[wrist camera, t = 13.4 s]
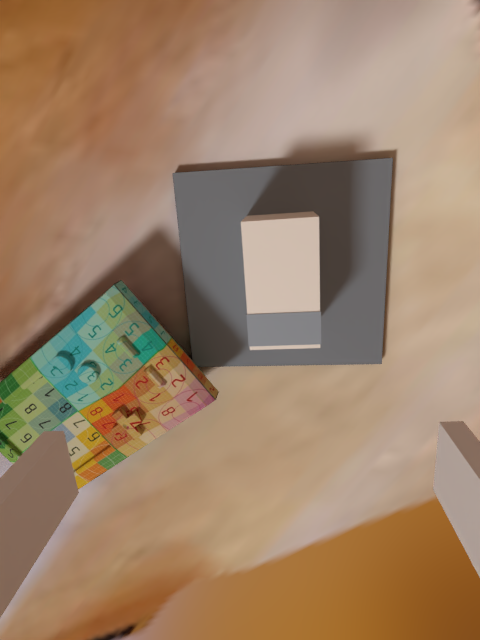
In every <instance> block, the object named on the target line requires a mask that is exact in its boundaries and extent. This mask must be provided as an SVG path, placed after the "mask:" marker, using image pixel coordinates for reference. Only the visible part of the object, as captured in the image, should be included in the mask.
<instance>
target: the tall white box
mask: <svg viewBox="0 0 480 640" xmlns="http://www.w3.org/2000/svg"><path fill="white" fill-rule="evenodd" d="M241 233H242V247H243V261H244V276H245V290H246V304H247V314H246V316H247V330H248V344H249V347H250V350H271V349H304V348H320V344H321V311H320V256H319V216H318V215H317V214H316V213H314V212H313V211H310V212H295V213H280V214H266V215H251V216H246V217H245V218H244V219H243V220H242V221H241Z"/></svg>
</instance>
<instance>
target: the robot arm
mask: <svg viewBox="0 0 480 640" xmlns="http://www.w3.org/2000/svg"><path fill="white" fill-rule="evenodd" d="M433 490H434V492H435V494H436V496H437V498H438V500H439V501H440V503H441V505H442V507H443V509H444V511H445V513H446V515H447V516H448V519H449V520H450V522H451V524H452V526H453V528H454V530H455V532H456V533H457V536H458V537H459V539H460V541H461V543H462V545H463V547H464V549H465V551H466V553H467V554H468V556H469V558H470V560H471V562H472V564H473V566H474V568H475V569H476V571H477V573H478V575H479V577H480V441H479V440H478V439H477V438H476V437H475V435H474V434H473V433H472V432H471V430H470V429H469V428H468V427H467V425H466V424H465V423H464V422H463V421H457V422H439V430H438V441H437V453H436V464H435V475H434V487H433ZM78 493H79V492H78V487H77V483H76V479H75V475H74V471H73V467H72V463H71V459H70V455H69V451H68V446H67V442H66V438H65V434H64V431H44V432H43V433H42V434H41V435H40V436H39V437H38V438H37V439H36V440H35V441H34V442H33V443H32V445H31V446H30V447H29V448H28V449H27V450H26V451H25V452H24V453H23V454H22V455H21V456H20V457H19V459H18V460H17V461H16V462H15V463H14V464H13V465H12V466H11V467H10V468H9V469H8V470H7V472H6V473H5V474H4V475H3V476H2V477H1V478H0V617H1V616H2V614H3V613H4V611H5V609H6V608H7V606H8V605H9V603H10V601H11V600H12V598H13V597H14V595H15V594H16V592H17V590H18V589H19V587H20V586H21V584H22V582H23V581H24V579H25V578H26V576H27V574H28V573H29V571H30V570H31V568H32V566H33V565H34V563H35V562H36V560H37V558H38V557H39V555H40V554H41V552H42V550H43V549H44V547H45V546H46V544H47V543H48V541H49V539H50V538H51V536H52V535H53V533H54V531H55V530H56V528H57V527H58V525H59V523H60V522H61V520H62V519H63V517H64V515H65V514H66V512H67V511H68V509H69V507H70V506H71V504H72V503H73V501H74V499H75V498H76V496H77V495H78Z"/></svg>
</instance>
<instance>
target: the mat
mask: <svg viewBox="0 0 480 640" xmlns="http://www.w3.org/2000/svg"><path fill="white" fill-rule="evenodd" d="M392 163H393V158H384V159H370V160H355V161H341V162H326V163H312V164H297V165H283V166H268V167H254V168H239V169H225V170H210V171H195V172H181V173H173V182H174V192H175V201H176V210H177V220H178V229H179V238H180V248H181V257H182V266H183V276H184V285H185V294H186V304H187V313H188V322H189V332H190V341H191V350H192V360H193V362H194V363H195V364H196V365H197V366H198V367H218V366H282V365H346V364H382V349H383V330H384V312H385V293H386V274H387V256H388V237H389V219H390V200H391V181H392ZM310 211H313V212H314V213H316V214H317V215H318V216H319V256H320V311H321V344H320V348H304V349H271V350H250V347H249V344H248V330H247V316H246V314H247V304H246V290H245V276H244V261H243V247H242V233H241V221H242V220H243V219H244V218H245V217H246V216H251V215H266V214H280V213H295V212H310Z"/></svg>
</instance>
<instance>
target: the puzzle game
mask: <svg viewBox="0 0 480 640" xmlns="http://www.w3.org/2000/svg"><path fill="white" fill-rule="evenodd" d="M217 395H218V390H217V389H216V388H215V387H214V386H213V385H212V384H211V382H210V381H209V380H208V379H207V378H206V377H205V375H204V374H203V372H202V371H201V370H200V369H199V368H198V366H197V365H196V364H195V363H194V362H193V361H192V360H191V358H190V357H189V356H188V355H187V354H186V353H185V352H184V350H183V349H182V348H181V347H180V346H179V345H178V344H177V342H176V341H175V340H174V339H173V338H172V337H171V336H170V334H169V333H168V332H167V331H166V330H165V329H164V328H163V326H162V325H161V324H160V323H159V322H158V321H157V320H156V318H155V317H154V316H153V315H152V314H151V313H150V312H149V310H148V309H147V308H146V307H145V306H144V305H143V303H142V302H141V301H140V300H139V299H138V298H137V297H136V295H135V294H133V293H132V292H131V291H130V290H129V289H128V287H127V286H126V285H125V284H124V283H123V282H122V280H120V281H119V282H117V283H116V284H114V285H113V286H112V287H111V288H110V289H108V290H107V291H106V292H105V293H104V294H103V295H101V296H100V297H99V298H98V299H97V300H96V301H94V302H93V303H92V304H91V305H90V306H89V307H87V308H86V309H85V310H84V311H83V312H82V313H80V314H79V315H78V316H77V317H76V318H75V319H73V320H72V321H71V322H70V323H69V324H68V325H66V326H65V327H64V328H63V329H62V330H61V331H59V332H58V333H57V334H56V335H55V336H54V337H52V338H51V339H50V340H49V341H48V342H47V343H45V344H44V345H43V346H42V347H41V348H40V349H39V350H37V351H36V352H35V353H34V354H33V355H32V356H30V357H29V358H28V359H27V360H26V361H25V362H23V363H22V364H21V365H20V366H19V367H18V368H16V369H15V370H14V371H13V372H12V373H11V374H9V375H8V376H7V377H6V378H5V379H4V380H2V381H1V382H0V452H1V453H2V454H3V455H4V456H5V457H6V458H7V459H8V460H9V461H10V462H11V463H12V464H14V463H15V462H16V461H17V460H18V459H19V457H20V456H21V455H22V454H23V453H24V452H25V451H26V450H27V449H28V448H29V447H30V446H31V445H32V443H33V442H34V441H35V440H36V439H37V438H38V437H39V436H40V435H41V434H42V433H43V432H44V431H64V434H65V438H66V442H67V446H68V451H69V455H70V459H71V463H72V467H73V471H74V475H75V479H76V483H77V487H78V489H80V488H81V487H83V486H84V485H86V484H87V483H89V482H90V481H92V480H93V479H95V478H96V477H98V476H100V475H101V474H103V473H104V472H106V471H107V470H109V469H110V468H112V467H113V466H115V465H116V464H118V463H119V462H121V461H122V460H124V459H126V458H127V457H129V456H130V455H132V454H133V453H135V452H136V451H138V450H139V449H141V448H142V447H144V446H145V445H147V444H148V443H150V442H152V441H153V440H155V439H156V438H158V437H159V436H161V435H162V434H164V433H165V432H167V431H169V430H170V429H172V428H173V427H175V426H176V425H178V424H179V423H181V422H183V421H184V420H186V419H187V418H189V417H190V416H192V415H193V414H195V413H197V412H198V411H200V410H201V409H203V408H204V407H206V406H207V405H209V404H210V403H212V402H213V401H214V400H216V398H217Z"/></svg>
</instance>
